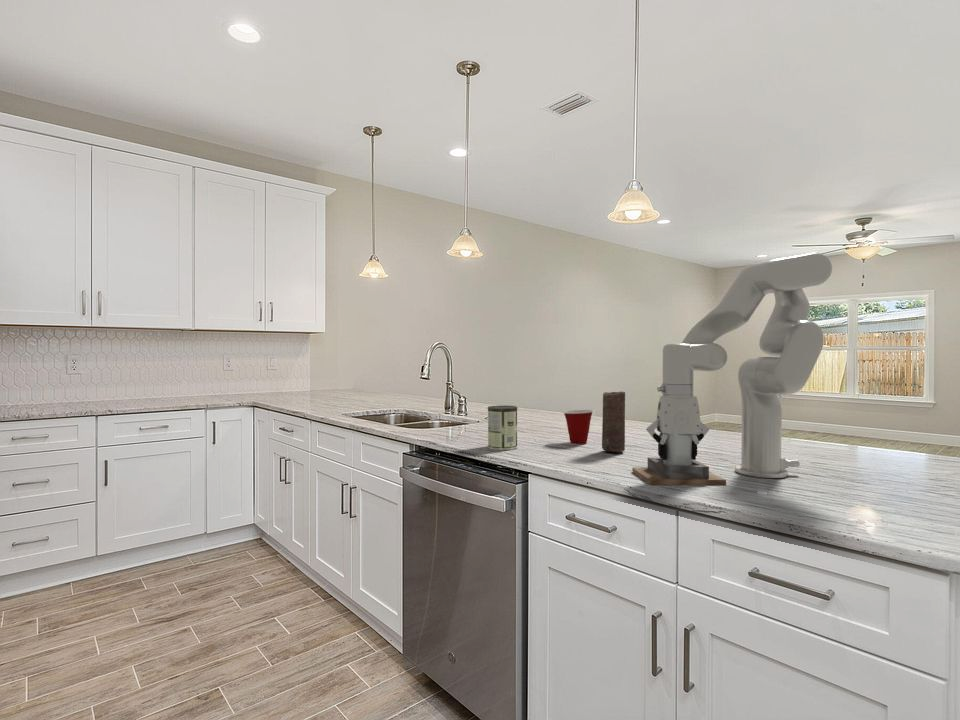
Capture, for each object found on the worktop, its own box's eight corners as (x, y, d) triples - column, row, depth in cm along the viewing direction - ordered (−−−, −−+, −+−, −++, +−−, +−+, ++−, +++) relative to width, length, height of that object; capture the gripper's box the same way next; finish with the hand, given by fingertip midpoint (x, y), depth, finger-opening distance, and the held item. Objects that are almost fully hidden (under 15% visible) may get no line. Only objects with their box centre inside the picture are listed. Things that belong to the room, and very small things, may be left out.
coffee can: (497, 444, 185) (497, 404, 185) (522, 446, 179) (522, 406, 179) (481, 448, 176) (481, 407, 176) (508, 451, 171) (508, 409, 171)
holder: (700, 471, 142) (701, 456, 142) (726, 484, 128) (726, 467, 128) (632, 471, 141) (632, 456, 141) (650, 484, 127) (650, 467, 127)
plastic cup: (570, 439, 195) (570, 407, 195) (597, 442, 189) (597, 409, 188) (557, 443, 186) (557, 410, 186) (585, 446, 180) (585, 412, 180)
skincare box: (680, 468, 138) (680, 422, 138) (693, 471, 134) (693, 425, 134) (662, 470, 136) (662, 424, 135) (674, 473, 131) (674, 426, 131)
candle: (625, 455, 165) (626, 392, 165) (602, 454, 166) (602, 392, 166) (624, 450, 173) (624, 391, 172) (601, 449, 174) (601, 390, 174)
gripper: (649, 392, 130) (649, 462, 131) (717, 391, 131) (717, 461, 131) (639, 389, 138) (639, 456, 138) (704, 389, 138) (704, 455, 139)
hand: (677, 458), depth 135 cm, fingers closed on skincare box, 7 cm apart
